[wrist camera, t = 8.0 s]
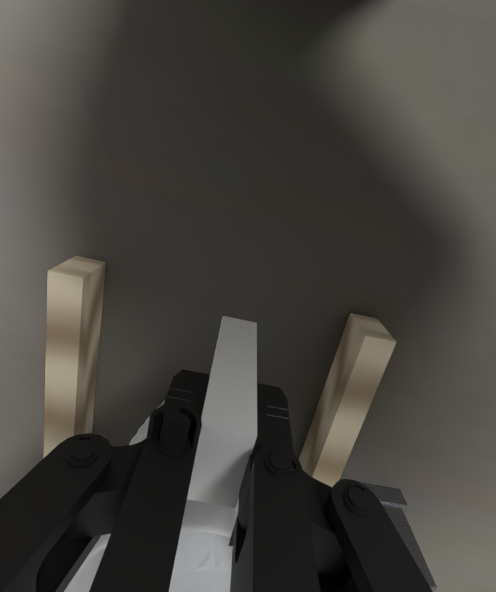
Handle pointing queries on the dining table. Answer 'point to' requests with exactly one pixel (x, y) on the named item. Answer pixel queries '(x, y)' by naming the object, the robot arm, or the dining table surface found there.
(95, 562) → the mug
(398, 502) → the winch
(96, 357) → the bay
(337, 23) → the dining table surface
